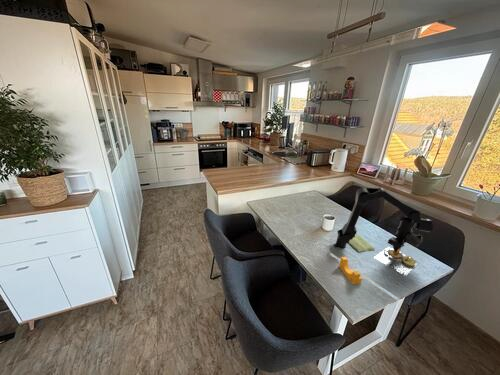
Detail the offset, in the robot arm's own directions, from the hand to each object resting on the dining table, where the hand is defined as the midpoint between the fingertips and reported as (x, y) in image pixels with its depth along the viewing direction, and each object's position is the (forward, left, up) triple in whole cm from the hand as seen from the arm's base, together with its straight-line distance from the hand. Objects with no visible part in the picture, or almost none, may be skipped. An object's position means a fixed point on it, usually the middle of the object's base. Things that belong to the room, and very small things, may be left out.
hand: (396, 250), depth 115 cm
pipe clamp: (-34, +7, -6) cm, 35 cm away
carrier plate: (-3, -2, -5) cm, 6 cm away
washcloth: (-7, +19, -6) cm, 21 cm away
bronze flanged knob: (0, 0, -4) cm, 4 cm away
